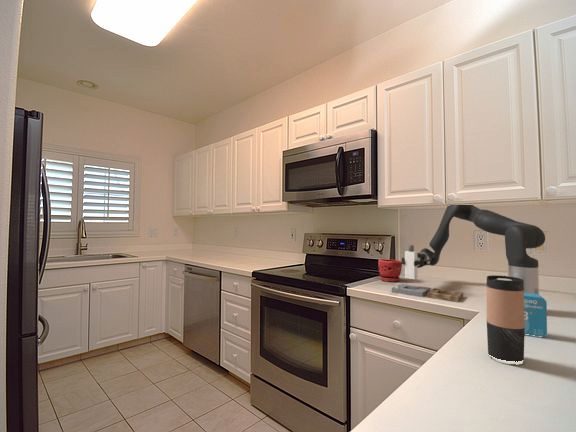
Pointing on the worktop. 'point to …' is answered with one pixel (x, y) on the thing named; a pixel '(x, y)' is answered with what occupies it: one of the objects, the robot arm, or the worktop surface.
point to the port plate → (411, 290)
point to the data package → (535, 315)
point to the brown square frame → (445, 295)
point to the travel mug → (505, 317)
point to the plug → (410, 263)
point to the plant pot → (389, 269)
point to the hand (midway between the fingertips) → (409, 263)
